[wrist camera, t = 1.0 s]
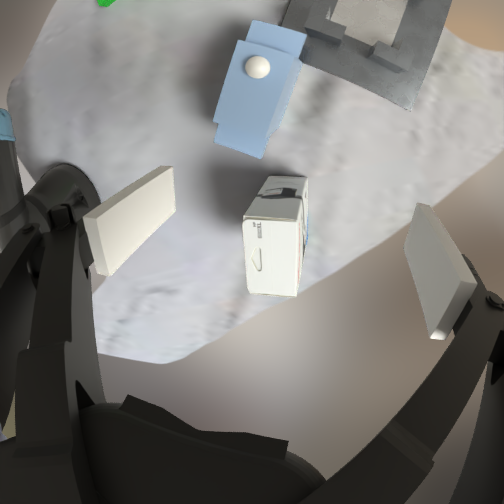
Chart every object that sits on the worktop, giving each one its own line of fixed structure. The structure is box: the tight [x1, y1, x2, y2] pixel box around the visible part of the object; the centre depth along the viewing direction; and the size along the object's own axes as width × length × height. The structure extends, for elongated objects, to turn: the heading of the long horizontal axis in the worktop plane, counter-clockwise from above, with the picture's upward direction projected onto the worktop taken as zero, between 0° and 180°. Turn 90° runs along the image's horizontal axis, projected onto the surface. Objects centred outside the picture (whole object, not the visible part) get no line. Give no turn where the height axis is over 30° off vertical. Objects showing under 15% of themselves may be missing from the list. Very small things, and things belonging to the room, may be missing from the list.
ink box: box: [242, 176, 308, 298], centre depth 31 cm, size 8×5×12 cm, turn 4°
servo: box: [213, 20, 307, 159], centre depth 25 cm, size 5×13×9 cm, turn 162°
